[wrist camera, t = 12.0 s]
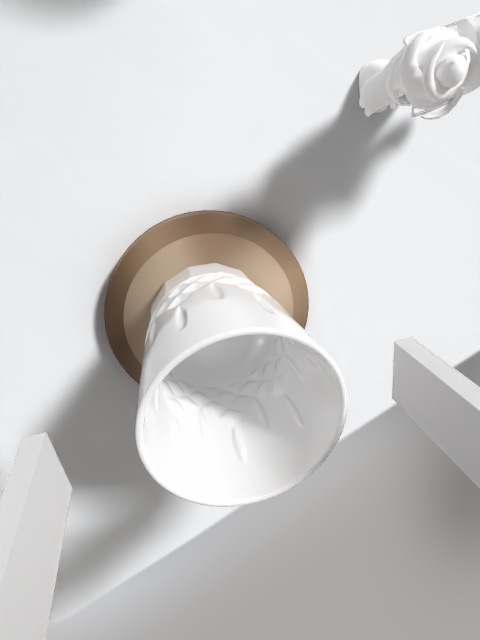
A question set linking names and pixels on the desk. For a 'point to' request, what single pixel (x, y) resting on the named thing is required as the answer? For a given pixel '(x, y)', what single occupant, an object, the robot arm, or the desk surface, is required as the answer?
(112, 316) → the coaster
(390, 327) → the desk surface
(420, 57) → the flower shoulder figurine
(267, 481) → the white cup
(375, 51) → the desk surface
